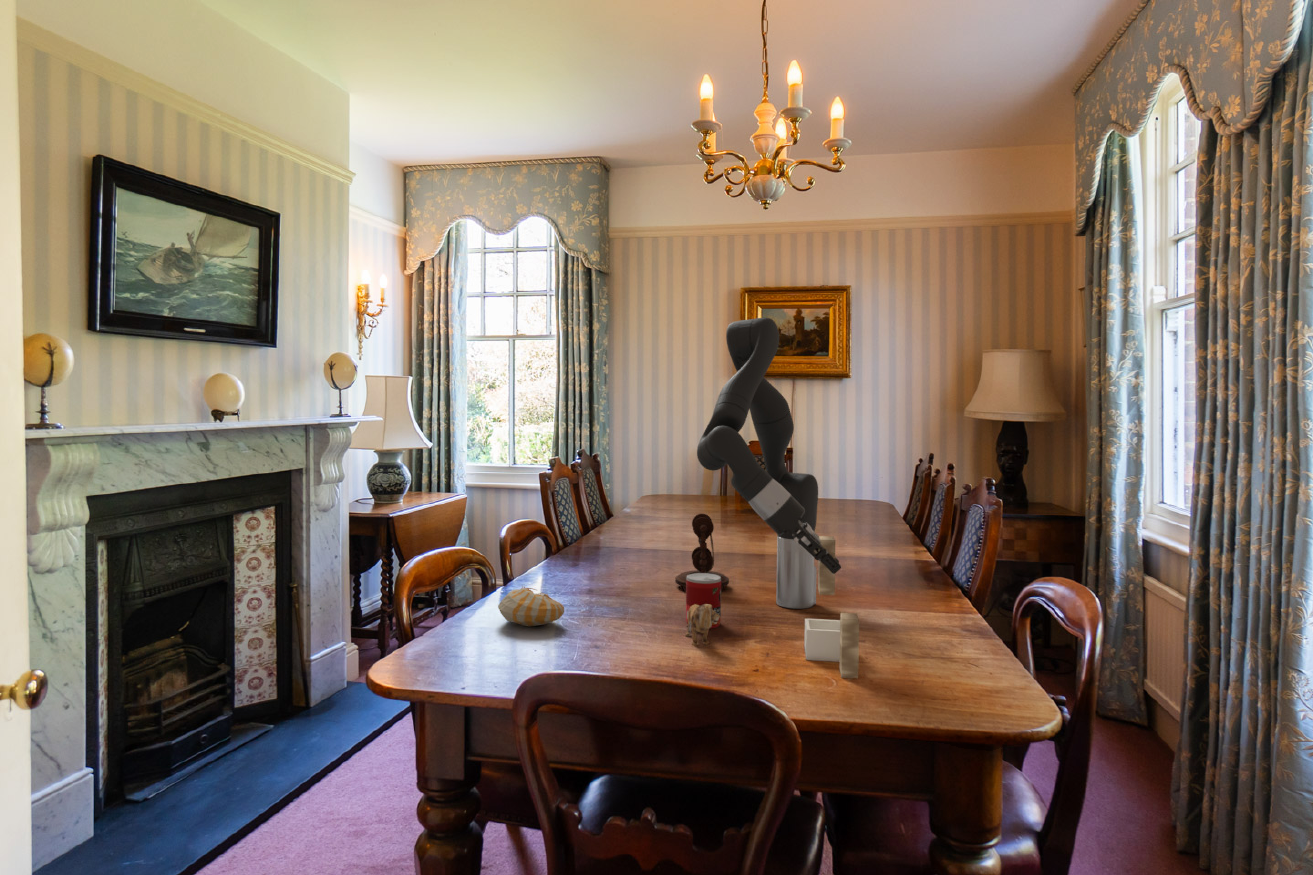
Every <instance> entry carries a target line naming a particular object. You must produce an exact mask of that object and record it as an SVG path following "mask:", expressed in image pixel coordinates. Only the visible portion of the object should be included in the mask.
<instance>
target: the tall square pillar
mask: <svg viewBox="0 0 1313 875" xmlns="http://www.w3.org/2000/svg"><path fill="white" fill-rule="evenodd" d="M818 536H819V539H820V541H821V545H822V546H823V547H824V548H825V549H827V550H828V553H829V554H830V555H831V556H832V557H833V558H834V559H835V557H836V539H835V536H831V535H830V536H828V535H826V536H825V535H818ZM819 551H820V549H819ZM817 565H818V566H817V569H818V570H817V574H818V575H817V576H818V577H817V579H818V580H817V582H818V583H817V591H818V595H822V596H835V595H836V573H835V574H833V573H832V572H831V571H830V570H829V569H828V568H827V567H826V566H825V565H824V564H823V563H822V562H821V561H819V560H818V564H817Z"/></svg>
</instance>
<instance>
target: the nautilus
mask: <svg viewBox="0 0 1313 875" xmlns="http://www.w3.org/2000/svg"><path fill="white" fill-rule="evenodd" d="M521 586H522V587H521V588H518V589H512V590H510V592H508V593H507V594H506V595H505V596H504V597H503V599H501V601H500V602H499V603H498V604H497V608H498V610H499V612H500V614H501V616H502V617H503V618H504V619H505V620H506V621H507V622H511V623H515V624H519V625H521V626H523V627H536V626H541V625H543V626H546V625H548V624H550V623H553V622H556V621H558V620H559V619H560V618H561V617H562V616H563V615H564V613H565V606H564V604H562V603H560V602H559V601H557V600H555V599H554V598H552V597H551V596H549V594H547V593H544V592H538V593H534V591H537V589H536V588H532V587H525V586H523V585H521ZM532 590H534V591H532Z"/></svg>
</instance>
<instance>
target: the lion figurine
mask: <svg viewBox="0 0 1313 875" xmlns="http://www.w3.org/2000/svg"><path fill="white" fill-rule="evenodd" d="M719 617H720V615H718V614H717V613H716V612H715V611H714V610H713V609H712V605H710V604H704V605H700V606H699V605H696V604H694V605H692V606H691V607H690V609H689V611H688V624H687V625H686V627H687V630H686V633H685V634H684V635H685V637H692V642H691V646H693V647H694V646H695V647H696V646H698V644H699V642H698V638H697V635H698V633H701V634H702V639H701V642H702V644H704V645H708V644H710V641H709V640H707V639H708V633H709V631H710V629H709V628H710V627H711V626H712V623H714V624H717V620H718V619H719ZM691 626H692V627H691Z"/></svg>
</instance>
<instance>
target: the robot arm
mask: <svg viewBox="0 0 1313 875" xmlns="http://www.w3.org/2000/svg"><path fill="white" fill-rule="evenodd" d="M725 333H726V334H725V335H726V336H725V340H726V345H727V350H728V353H729V356H730V359H731V361H732V364H733V366H734V368H735V371H736V373H734V375H732V377H731V378H729V379H728V380H727V382H726V383H724V385H723V387H722V388H721V390H720V392H719V394H718V396H717V397H718V398H717V399H716V403H715V406H714V409H713V412H712V416H711V418H710V420H709V422H708V424H707V425H706V428H705V430H704V431H703V433H702V436H701V438H700V439H699V442H698V445H697V450H696V456H697V459H698V462H699V464H700V465H701V466H702V467H703V468H704V469H706V470H708V471H718V470H721V469H723V468H725V466H727V465H728V467H729V469H730V470H731V472H732V474H733V475H732V477H731V479H730V483H731V486H732V487H733V489H734V490H735V491H736V492H737V493H738V494H739V495H740V496H741V497H742V498H743V499H744V500H745V501H746V502H747V503H748V504H749V505H750V506H751V508H752V509H753V511H754V512H755V513H756V514H757V515H758V516H759V517H760V518H761V519H762V520H763V521H764V522H765V523H766V524H767V525H768V526H769V527H770V528H771V529H772V530H773V531H774V532H775V533H776V535H777V536H776V590H775V591H776V597H775V599H776V605H777V606H780V607H783V608H787V609H796V610H798V609H800V610H801V609H809V608H812V607H813V606H814V605H816V604H817V567H816V565H815V561H818V560H819V561H821V562H822V563H823V564H824V565H825V566H826V567H827V568H828V569H829V570H830V571H831V572H832V573H833V574H835V575H836V574H837V572H839V571H840V570H841V568H842V566H841V564H840V561H839V559H838V558H837V557H836V556H835V559H834V558H833V557H832V556H831V555H830V554H829V553H828V550H827V549H825V548H824V547H823V546H822V545H821V541H820V539H819V536H820V535H819V534H818V533H816V527H817V516H818V514H817V513H818V503H819V502H818V501H819V484H818V480H817V479H816V477H815V476H814V475H813V474H811V473H801V472H789V470H788V469H787V466H786V461H785V455H786V452H787V449H788V448H789V444H790V442H791V440H792V438H793V435H794V430H795V429H794V428H795V426H794V421H793V416H792V413H791V409H790V407H789V406H790V405H789V403H788V401H787V399H786V398H785V397H784V396H783V395H782V393H781V392H780V391H779V390H778V389H777V388H776V387H775V386H774V385H773V384H772V383H771V382H769V381H768V380H767V379H766V378H765V375H766V373H767V371H768V369H769V368H770V365H772V361H773V360H774V359H775V356H776V354H777V353H778V349H779V344H780V332H779V328H778V325H777V324H776V322H775V321H774V320H773V319H772V318H770V317H756V318H751V319H742V320H737V321H736V320H735V321H733V322H731V323H729V324H728V326H727V328H726V332H725ZM749 413H750V416H751V420H752V424H753V427H754V430H755V434H756V437H757V440H758V442H759V446H760V449H761V453H762V457H763V461H764V462H763V463H764V466H765V469H764V468H763V467H762V466H761V465H760V464H759V462H758V461H757V459H756V457H755V455H754V453H753V452H752V451H751V449H750V447H749V445H748V444H747V443H746V441H745V439H744V438H743V436H742V435H741V434H740V433H739V432H740V431H741V430H742V429H743V427H744V425H745V423H746V421H747V418H748V415H749ZM819 549H820V551H819Z"/></svg>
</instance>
